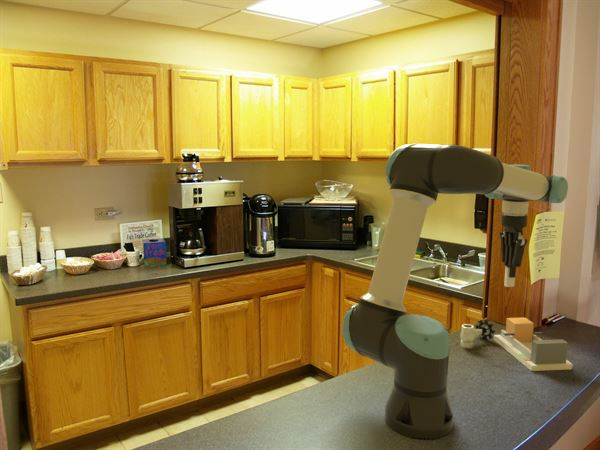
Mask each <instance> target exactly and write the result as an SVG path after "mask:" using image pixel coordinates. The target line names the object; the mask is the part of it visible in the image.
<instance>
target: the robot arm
mask: <svg viewBox="0 0 600 450" xmlns="http://www.w3.org/2000/svg"><path fill="white" fill-rule="evenodd" d="M531 168H532V167H531V166H530V165H528V164H509V163H504V162H502V161H501V159H499V158H498V157H497V156H495V155H493V154H489V153H486V152H484V151H480V150H477V149H474V148H470V147H467V146H463V145H458V144H436V143H435V144H431V143H416V142H415V143H412V144H410V143H409V144H403V145H400V146H399V147H396V149H395V150H393V152H392V153H391V154H390V156H389V157H388V159H387V161H386V165H385V175H386V177H385V179H386V182H387V184H388V186H390V189H389V194H390V196H391V197H392V205H391V207H390V210H389V214H388V218H387V223H386V225H385V229H384V233H383V236H382V240H381V244H380V247H379V251H378V255H377V258H376V262H375V266H374V269H373V273H372V277H371V281H370V283H369V287H368V290H367V292H366V293H365V294H363V295H362V296H360V297H359V301H358V303H355V304H353V305H352V306H351V307H350V308H349V310H346V313H345V315H344V317H343V321H342V327H341V328H342V329H341V330H342V336H343V339H344V341H345V344H346V345H347V347H348V348H349V349H350V350H352V351H354V352H355V353H357V354H358V355H359V356H362V357H365V358H368V359H370V360H373V361H375V362H378V363H379V364H381V365H383V366H386V367H388V368H390V369H392V370H394V371H393V373H394V374H393V386H392V389H391V390H390V394H389V396H388V399H387V401H386V404H385V406H384V420H385V422H386V423H388V424H387V425H388V426H389V427H390V428H391V429H392V428H393V429H392V430H394V431H395V432H397V433H399V434H401V435H404V436H406V437H409V436H411V437H410V438H413V437H415V438H414V439H418V438H423V439H422V440H433V439H432V438H435V439H439V437H440V438H442V436H443V437H444V436H447V435H448V434H450V432H451V431H452V430H453V429H454V428H453V427H454V411H453V409H452V406H451V403H450V399H449V396H448V390H447V388H448V377H449V376H448V375H449V358H450V352H451V345H450V334H449V331H448V329H447V328H446V326H445V325H444V324H443V323H441V322H440V321H438V320H437V319H435V318H432V317H430V316H427V315H419V314H415V313H409V314H407V309H406V307H405V306H404V304H403V303H404V302H403V301H404V297H405V293H406V289H407V286H408V284H409V283H408V282H409V279H410V274H411V271H412V268H413V264H414V260H415V257H416V253H417V249H418V245H419V242H420V238H421V234H422V231H423V227H424V223H425V220H426V216H427V212H428V209H429V208H430V207H432V206H433V205H435V204H436V203H437V200H438V197H439V194H443V195H446V194H447V195H465V194H466V195H469V194H472V195H473V194H475V195H484V196H485V197H486V198H488V199H491V200H492V199H493V200H499V199H502V203H501V205H502V207H501V212H502V215H501V219H500V224H501V226H503V227H504V228H503V231H500V232H499V237H500V249H501V250H500V251H501V252H500V253H501V263H503V264H504V267H505V269H504V281H503V283H504V284H503V286H504V287H506V288H514V287H515V283H516V270H517V269H518V268H520V267H522V262H523V261H522V260H523V256H524V252H525V247H526V245H527V244H528V240H527V238H524V237H523V236H524V233H523V229H524V228H526V227H527V226H528V215H527V214H528V213H529V206H530V204H529V202H531V201H532V202H538V203H539V202H540V203H544V204H545V203H547V204H562V203H563V202H564V201H565V199H566V198H567V195H568V191H569V186H568V185H569V183H568V181H567V180H568V179H566V178H565V176H562V175H561V176H560V175H548V174H544V173H539V172H535V171H532V169H531ZM424 438H425V439H424ZM428 438H429V439H428Z"/></svg>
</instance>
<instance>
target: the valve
mask: <svg viewBox="0 0 600 450" xmlns="http://www.w3.org/2000/svg"><path fill="white" fill-rule="evenodd" d="M477 323H479V324H477V325H475V326H474V325H473V324H469V323H463V324H462V325H461V331H460V334H459V336H460V347H462V348H463V349H472V348H474V340H475V339H478V338H479V336H482V340H487V339H489V340H492V339H494V335H496V330H495V329H493V328H494V324H493V323H489V320H488V319H487V318H486V319H483V320H482V319H479V320H478V321H477ZM483 325H485V326H483ZM488 331H489V332H488ZM487 332H488V333H487Z"/></svg>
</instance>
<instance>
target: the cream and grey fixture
mask: <svg viewBox="0 0 600 450" xmlns="http://www.w3.org/2000/svg"><path fill="white" fill-rule="evenodd" d="M504 333H507V332H506V329H500V334H493V340H494V341H495V342H496V343H498V344H499V345H500V346H501V347H502V348H503V349H505V350H506V351H507V353H509V354H511V355H512V356H513V357H514V358H515V359H516V360H517V361H519V362H520V363H521V364H522V365H524V366H525V368H527V369H528V370H530V371H531V372H537V371H539V372H541V371H561V370H562V371H565V370H573V365H574V364H573V363H572V362H570V360H568V359H567V355H568V347H569V346H568V345H569V342H567V341H566V340H564V339H561V338H560V339H542V338H541V337H539V336H537V335H533V336H532V342H519V341H518V340H517V339H515V338H514V337H513V336H511V335H510V336H505V335H504Z"/></svg>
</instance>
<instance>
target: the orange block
mask: <svg viewBox="0 0 600 450" xmlns="http://www.w3.org/2000/svg"><path fill="white" fill-rule="evenodd" d="M505 321H506V324H505V331H506V332H507V333H504V335H505V336H510V335H511V336H513V337H514V338H515V339H517V340H518V341H519V342H532V336H533V335H536V336H537V335H543V334H544V333H543V332H542V331H536V332H535V331H534V324H535V323H534V322H532V321H531V320H530V319H528V318H526V317H507V318H506V320H505Z"/></svg>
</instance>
